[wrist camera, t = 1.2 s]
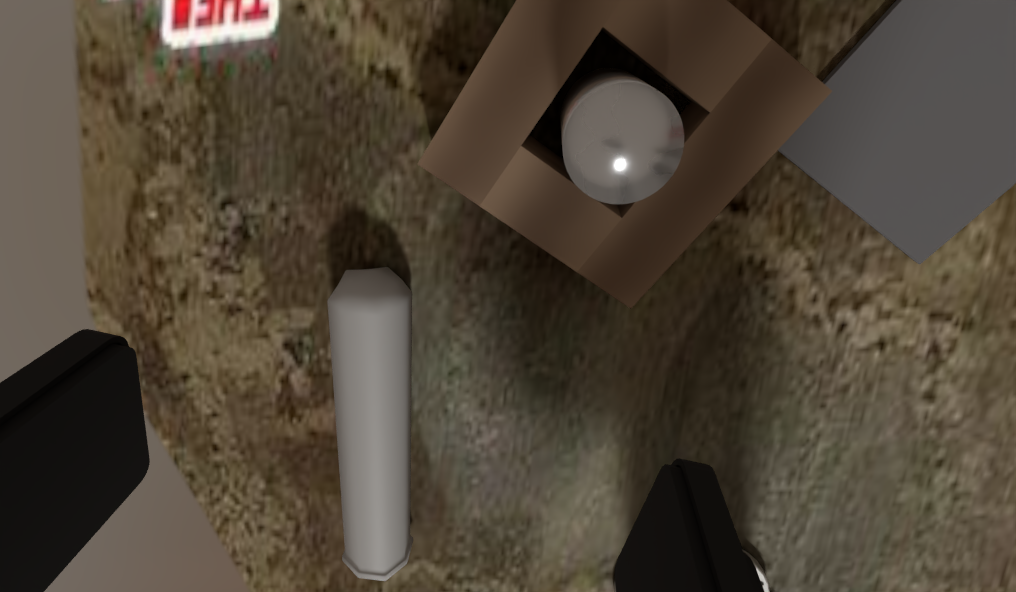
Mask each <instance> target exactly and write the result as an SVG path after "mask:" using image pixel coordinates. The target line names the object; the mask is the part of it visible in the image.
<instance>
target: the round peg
mask: <svg viewBox="0 0 1016 592" xmlns="http://www.w3.org/2000/svg"><path fill="white" fill-rule="evenodd" d="M560 123H561V136H562V149H563V159H564V163H565V166H566V169H567V172H568V174H569V176H570V178H571V179H572V181H573V182H574V183H575V185H576V186H577V187H578V188H579V189H580V190H581V191H583V192H584V193H585V194H586V195H588V196H590V197H591V198H593V199H596V200H598V201H601V202H604V203H609V204H628V203H633V202H637V201H640V200H643V199H645V198H647V197H649V196H651V195H652V194H654V193H655V192H657V191H658V190H659V189H660V188H662V187H663V186H664V185H665V184H666V183H667V182H668V181H669V179H670V178H671V177H672V175H673V174H674V172H675V170H676V169H677V167H678V165H679V162H680V160H681V156H682V153H683V148H684V129H683V124H682V120H681V118H680V115H679V113H678V111H677V109H676V108H675V106H674V105H673V103H672V102H671V101H670V100H669V99H668V98H667V97H666V96H665V95H664V94H663V93H661V92H660V91H658V90H657V89H655V88H653V87H652V86H650V85H649V84H647V83H646V82H644V81H642V80H641V79H639V78H638V77H636V76H635V75H633V74H631V73H630V72H627V71H625V70H622V69H618V68H600V69H597V70H594V71H591V72H589V73H587V74H585V75H584V76H582V77H581V78H580V79H578V80H577V81H576V82H575V83H574V84H573V85H572V87H571V88H570V89H569V91H568V92H567V94H566V96H565V98H564V101H563V104H562V107H561V114H560Z"/></svg>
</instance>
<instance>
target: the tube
mask: <svg viewBox="0 0 1016 592" xmlns="http://www.w3.org/2000/svg"><path fill="white" fill-rule="evenodd" d="M328 313H329V328H330V342H331V356H332V370H333V385H334V399H335V413H336V428H337V442H338V456H339V470H340V485H341V499H342V513H343V528H344V542H345V551H344V553H343V556H342V561H343V562H344V563H345V564H346V565H347V566H348V567H349V568H350V569H351V570H352V571H353V573H354V574H355V575H356V576H357V577H358V578H365V579H373V580H380V581H386V580H387V579H388V578H390V577H391V576H392V575H393V574H395V573H396V572H397V571H398V570H400V569H401V568H402V567H403V566H405V565H406V564H407V562H408V558H409V554H410V551H411V547H412V543H413V537H412V536H411V535H410V483H411V357H412V292H411V290H410V289H409V288H408V287H407V285H406V284H405V283H404V282H403V280H402V279H401V278H400V277H398V276H397V275H396V274H395V273H394V272H393V271H392V270H391V269H389V268H388V267H382V268H373V269H362V270H346V271H345V273H344V275H343V276H342V278H341V280H340V282H339V284H338V286H337V287H336V289H335V290H334V292H333V293H332V294H331V296H330V297H329V299H328Z"/></svg>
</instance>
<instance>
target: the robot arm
mask: <svg viewBox="0 0 1016 592" xmlns="http://www.w3.org/2000/svg"><path fill="white" fill-rule="evenodd" d="M148 467H149V452H148V445H147V436H146V428H145V421H144V413H143V405H142V397H141V390H140V382H139V374H138V366H137V358H136V353H135V351H134V349H133V348H130V347H129V345H128V342H127V341H126V339H125V338H123V337H121V336H117V335H112V334H108V333H103V332H99V331H94V330H89V329H86V330H81V331H79V332H77V333H75V334H73V335H72V336H70V337H69V338H68V339H66V340H64V341H63V342H61V343H60V344H58V345H57V346H55V347H54V348H52V349H51V350H49V351H48V352H46V353H45V354H43V355H42V356H40V357H39V358H37V359H36V360H34V361H33V362H31V363H30V364H28V365H27V366H25V367H23V368H22V369H20V370H19V371H17V372H16V373H14V374H13V375H12V376H10V377H8V378H7V379H5V380H4V381H2V382H1V383H0V592H44V591H45V590H46V589H47V587H48V586H49V585H50V584H51V583H52V582H53V581H54V580H55V578H56V577H57V576H58V575H59V574H60V573H61V572H62V571H63V569H64V568H65V567H66V566H67V565H68V564H69V563H70V562H71V560H72V559H73V558H74V557H75V556H76V555H77V553H78V552H79V551H80V550H81V549H82V548H83V547H84V546H85V545H86V543H87V542H88V541H89V540H90V539H91V538H92V537H93V536H94V534H95V533H96V532H97V531H98V530H99V529H100V528H101V526H102V525H103V524H104V523H105V522H106V521H107V520H108V519H109V517H110V516H111V515H112V514H113V513H114V512H115V510H116V509H117V508H118V507H119V506H120V505H121V504H122V503H123V502H124V501H125V499H126V498H127V497H128V496H129V495H130V494H131V493H132V491H133V490H134V489H135V488H136V487H137V486H138V485H139V484H140V482H141V481H142V480H143V478H144V477H145V475H146V473H147V470H148ZM614 592H770V590H769V583H768V581H767V578H766V575H765V573H764V570H763V569H762V567H761V566H760V564H759V563H758V561H757V560H756V559H755V558H754V557H753V556H751V555H750V554H749V553H748V552H746V551H744V550H743V549H742V547H741V545H740V542H739V539H738V536H737V533H736V531H735V528H734V525H733V522H732V520H731V517H730V514H729V511H728V508H727V506H726V503H725V500H724V497H723V495H722V492H721V489H720V486H719V483H718V481H717V478H716V475H715V472H714V470H713V468H712V467H711V466H709V465H706V464H702V463H697V462H692V461H688V460H683V459H676V460H675V461H674V462H673V463H672V465H666V464H665V465H664V466H663V467H662V468H661V470H660V472H659V474H658V476H657V478H656V480H655V482H654V484H653V487H652V489H651V491H650V493H649V495H648V497H647V499H646V501H645V503H644V505H643V507H642V509H641V511H640V514H639V516H638V518H637V520H636V522H635V524H634V526H633V528H632V530H631V532H630V534H629V536H628V539H627V541H626V543H625V545H624V547H623V549H622V551H621V553H620V555H619V557H618V560H617V563H616V567H615V582H614Z"/></svg>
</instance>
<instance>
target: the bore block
mask: <svg viewBox="0 0 1016 592" xmlns="http://www.w3.org/2000/svg"><path fill="white" fill-rule="evenodd" d="M600 30H602V31H603V32H604V33H606V34H607V35H608V36H609V37H611V38H612V39H613V40H614V41H616V42H617V43H618V44H619V45H621V46H622V47H623V48H624V49H626V50H627V51H628V52H629V53H631V54H632V55H633V56H634V57H636V58H637V59H638V60H639V61H641V62H642V63H643V64H644V65H646V66H647V67H648V68H649V69H651V70H652V71H653V72H654V73H656V74H657V75H658V76H659V77H661V78H662V79H663V80H664V81H666V82H667V83H668V84H669V85H671V86H672V87H673V88H674V89H676V90H677V91H678V92H679V93H681V94H682V95H683V96H684V97H686V98H687V99H688V100H689V101H691V102H690V103H689V105H688V106H687V107H686V108H685V110H684V111H683V112H682V113H681V115H680V118H681V120H682V124H683V129H684V148H683V153H682V156H681V160H680V162H679V165H678V167H677V169H676V170H675V172H674V174H673V175H672V177H671V178H670V179H669V181H668V182H667V183H666V184H665V185H664V186H663V187H662V188H660V189H659V190H658V191H657V192H655V193H654V194H652V195H651V196H649V197H647V198H645V199H643V200H640V201H637V202H633V203H628V204H609V203H604V202H601V201H598V200H596V199H593V198H591V197H590V196H588V195H586V194H585V193H584V192H583V191H581V190H580V189H579V188H578V187H577V186H576V185H575V183H574V182H573V181H572V179H571V178H570V176H569V174H568V172H567V169H566V166H565V163H564V160H563V159H562V158H561V157H559V156H558V155H556V154H555V153H554V152H552V151H551V150H550V149H548V148H547V147H545V146H544V145H543V144H541V143H540V142H539V141H537V140H536V139H534V138H533V137H532V136H530V135H529V134H530V132H531V131H532V129H533V128H534V126H535V125H536V123H537V122H538V120H539V119H540V118H541V116H542V115H543V113H544V112H545V110H546V109H547V107H548V106H549V105H550V103H551V102H552V100H553V99H554V97H555V96H556V94H557V93H558V91H559V90H560V89H561V87H562V86H563V84H564V83H565V81H566V80H567V78H568V77H569V75H570V74H571V73H572V71H573V70H574V68H575V67H576V65H577V64H578V62H579V61H580V60H581V58H582V57H583V55H584V54H585V52H586V51H587V49H588V48H589V46H590V45H591V44H592V42H593V41H594V39H595V38H596V36H597V35H598V33H599V32H600ZM831 92H832V90H831V89H829V88H828V87H827V86H826V85H825V84H824V83H822V82H821V81H820V80H819V79H818V78H817V77H816V76H814V75H813V74H812V73H811V72H810V71H809V70H807V69H806V68H805V67H804V66H803V65H802V64H800V63H799V62H798V61H797V60H796V59H795V58H794V57H792V56H791V55H790V54H789V53H788V52H787V51H785V50H784V49H783V48H782V47H781V46H780V45H778V44H777V43H776V42H775V41H774V40H773V39H772V38H770V37H769V36H768V35H767V34H766V33H765V32H763V31H762V30H761V29H760V28H759V27H758V26H756V25H755V24H754V23H753V22H752V21H751V20H750V19H748V18H747V17H746V16H745V15H744V14H743V13H741V12H740V11H739V10H738V9H737V8H736V7H735V6H733V5H732V4H731V3H730V2H729V1H728V0H516V2H515V3H514V5H513V7H512V8H511V10H510V12H509V13H508V15H507V17H506V18H505V20H504V22H503V23H502V25H501V27H500V28H499V30H498V31H497V33H496V35H495V36H494V38H493V40H492V41H491V43H490V45H489V46H488V48H487V50H486V51H485V53H484V55H483V56H482V58H481V60H480V61H479V63H478V65H477V66H476V68H475V70H474V71H473V73H472V75H471V76H470V78H469V79H468V81H467V83H466V84H465V86H464V88H463V89H462V91H461V93H460V94H459V96H458V98H457V99H456V101H455V103H454V104H453V106H452V108H451V109H450V111H449V113H448V114H447V116H446V118H445V119H444V121H443V123H442V124H441V126H440V127H439V129H438V131H437V132H436V134H435V136H434V137H433V139H432V141H431V142H430V144H429V146H428V147H427V149H426V151H425V152H424V154H423V156H422V157H421V159H420V161H419V162H418V165H419V166H421V167H422V168H424V169H425V170H427V171H428V172H430V173H431V174H433V175H434V176H436V177H437V178H439V179H440V180H442V181H443V182H445V183H446V184H448V185H449V186H450V187H452V188H453V189H455V190H456V191H458V192H459V193H461V194H462V195H464V196H465V197H467V198H468V199H470V200H471V201H473V202H474V203H476V204H477V205H478V206H480V207H481V208H483V209H484V210H486V211H487V212H489V213H490V214H492V215H493V216H495V217H496V218H498V219H499V220H501V221H502V222H504V223H505V224H507V225H508V226H509V227H511V228H512V229H514V230H515V231H517V232H518V233H520V234H521V235H523V236H524V237H526V238H527V239H529V240H530V241H532V242H533V243H535V244H536V245H538V246H539V247H540V248H542V249H543V250H545V251H546V252H548V253H549V254H551V255H552V256H554V257H555V258H557V259H558V260H560V261H561V262H563V263H564V264H566V265H567V266H568V267H570V268H571V269H573V270H574V271H576V272H577V273H579V274H580V275H582V276H583V277H585V278H586V279H588V280H589V281H591V282H592V283H594V284H595V285H597V286H598V287H599V288H601V289H602V290H604V291H605V292H607V293H608V294H610V295H611V296H613V297H614V298H616V299H617V300H619V301H620V302H622V303H623V304H625V305H626V306H627V307H629V308H630V309H631V308H632V307H633V306H634V305H635V304H636V303H637V302H638V300H639V299H640V298H641V297H642V296H643V295H644V294H645V293H646V292H647V291H648V290H649V289H650V287H651V286H652V285H653V284H654V283H655V282H656V281H657V280H658V279H659V278H660V277H661V276H662V275H663V273H664V272H665V271H666V270H667V269H668V268H669V267H670V266H671V265H672V264H673V263H674V262H675V261H676V259H677V258H678V257H679V256H680V255H681V254H682V253H683V252H684V251H685V250H686V249H687V248H688V246H689V245H690V244H691V243H692V242H693V241H694V240H695V239H696V238H697V237H698V236H699V235H700V234H701V232H702V231H703V230H704V229H705V228H706V227H707V226H708V225H709V224H710V223H711V222H712V221H713V220H714V218H715V217H716V216H717V215H718V214H719V213H720V212H721V211H722V210H723V209H724V208H725V207H726V205H727V204H728V203H729V202H730V201H731V200H732V199H733V198H734V197H735V196H736V195H737V194H738V193H739V191H740V190H741V189H742V188H743V187H744V186H745V185H746V184H747V183H748V182H749V181H750V180H751V178H752V177H753V176H754V175H755V174H756V173H757V172H758V171H759V170H760V169H761V168H762V167H763V166H764V164H765V163H766V162H767V161H768V160H769V159H770V158H771V157H772V156H773V155H774V154H775V153H776V152H777V150H778V149H779V148H780V147H781V146H782V145H783V144H784V143H785V142H786V141H787V140H788V139H789V137H790V136H791V135H792V134H793V133H794V132H795V131H796V130H797V129H798V128H799V127H800V126H801V125H802V123H803V122H804V121H805V120H806V119H807V118H808V117H809V116H810V115H811V114H812V113H813V112H814V111H815V109H816V108H817V107H818V106H819V105H820V104H821V103H822V102H823V101H824V100H825V99H826V98H827V96H828V95H829V94H830V93H831Z"/></svg>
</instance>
